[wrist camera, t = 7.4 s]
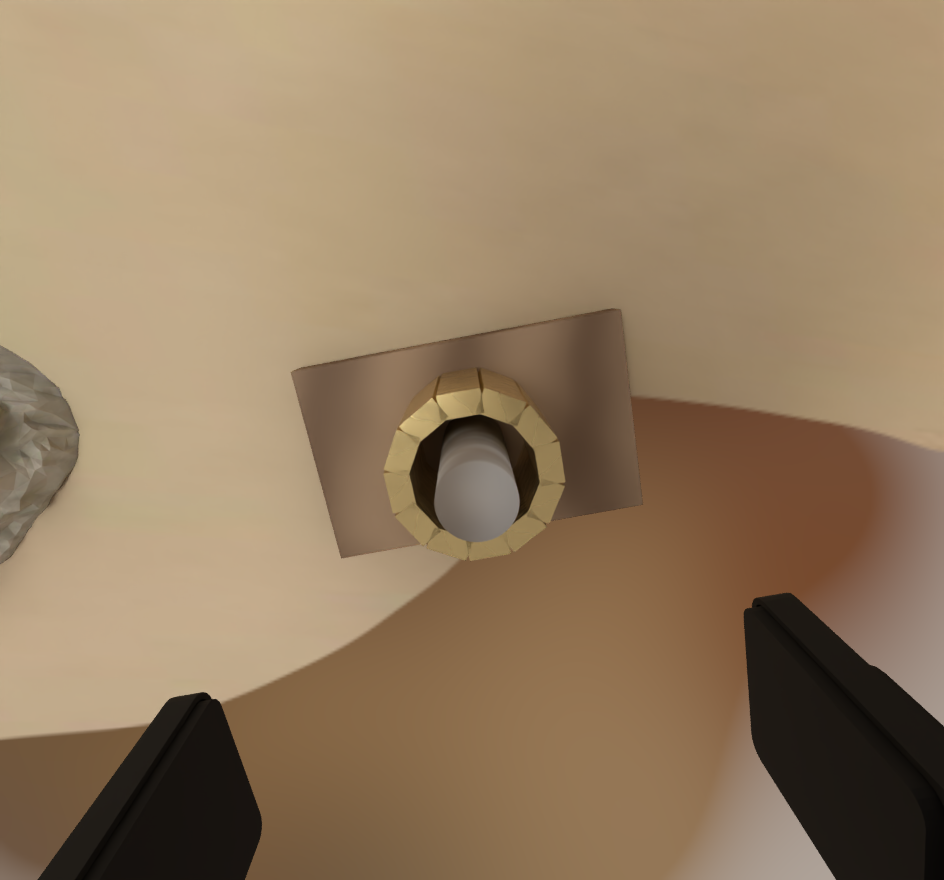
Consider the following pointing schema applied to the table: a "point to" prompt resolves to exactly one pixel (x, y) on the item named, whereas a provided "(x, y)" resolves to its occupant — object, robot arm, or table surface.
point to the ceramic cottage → (30, 446)
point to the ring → (417, 479)
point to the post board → (474, 429)
